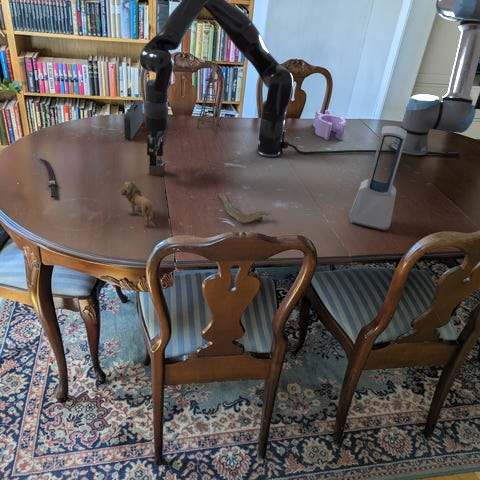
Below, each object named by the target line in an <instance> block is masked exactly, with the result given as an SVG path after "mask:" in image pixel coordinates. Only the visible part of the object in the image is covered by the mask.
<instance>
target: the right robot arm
mask: <svg viewBox="0 0 480 480" xmlns="http://www.w3.org/2000/svg"><path fill="white" fill-rule="evenodd" d="M435 11H436V12H437V14H438V16H440V17H441V18H443V19H445V20H447V21H453V22H458V23H459V24H458V25H459V26H458V28H459V30H460V31H461V34H460V39H459V42H458V43H459V44H458V48H457V52H456V57H455V61H454V65H453V69H452V74H451V77H450V82H449V86H448V90H447V93H446V94H445V95H444V96H442V99H441V100H440V97H439V96H436V95H432V94H425V93H424V94H415V95H413V96H411V97H409V99H408V101H407V104H406V106H405V111H404V115H403V117H402V121H401V125H400V128H402V129H404V130H406V131H407V134H406V140H405V143H404V147H403V150H402V153H401V155H405V156H409V157H410V156H411V157H423V156H426V155H427V154H426V153H427V152H428V150H429V144H428V143H429V141H428V138H429V133H430V130H435V131H443V132H447V133H448V132H449V133H458V134H462V133H464V132H466V131H467V130H468V129H469V128H470V126H471V125H472V123H473V121H474V120H475V116H476V111H477V110H480V92H479V93H478V95H477V98H476V101H475V104H473V101H474V99H473V98H472V97H471V93H472V89H473V85H474V81H475V76H476V73H477V69H478V64H479V61H480V0H436V2H435ZM477 86H479V87H480V81H479V82H478V85H477ZM399 141H400V139H398V138H395V137H393V139H392V141H391V145H390V147H391V150H397V148H398V144H399Z"/></svg>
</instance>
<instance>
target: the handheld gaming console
mask: <svg viewBox="0 0 480 480" xmlns="http://www.w3.org/2000/svg"><path fill="white" fill-rule="evenodd" d="M143 107H144V105H143V100H142V99H136V100H135V101H134V102H133V103H132V104H131V106H130V107H129V108H128V109H127V111H126V113H125V114H124V115H123V116H124V117H123V125H124V126H123V127H124V128H123V129H124V139H125V140H128V141H129V140H130V141H132V139H133V138H134V137H135V135H136V133H137V132H138V131H139V129H140V128H141V126H142V124H143V120H144V113H143V112H144V111H143Z"/></svg>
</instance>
